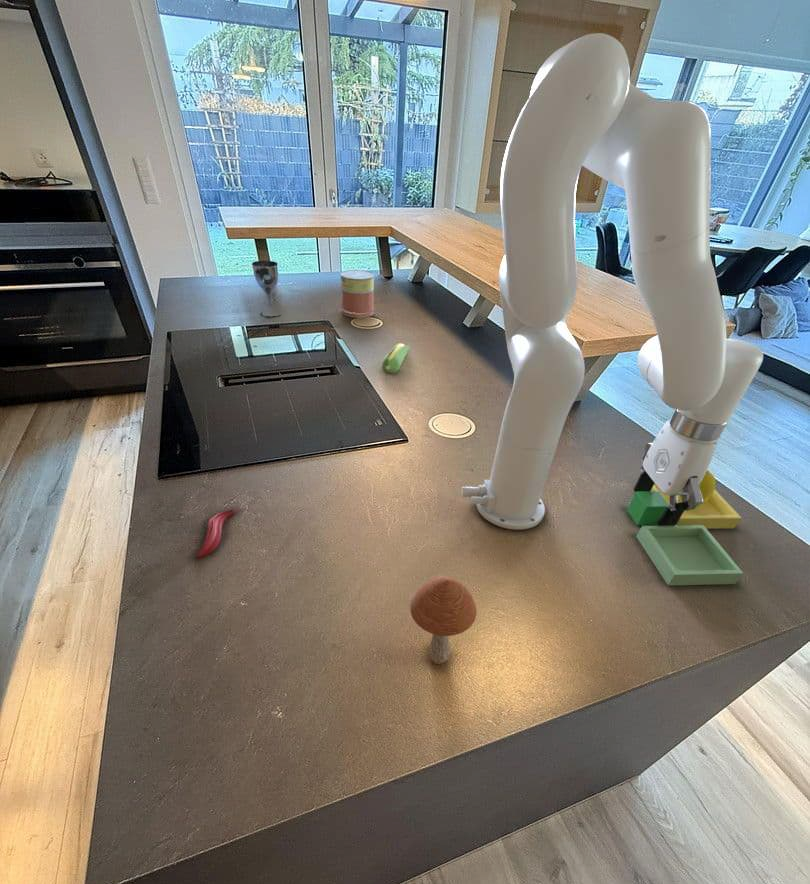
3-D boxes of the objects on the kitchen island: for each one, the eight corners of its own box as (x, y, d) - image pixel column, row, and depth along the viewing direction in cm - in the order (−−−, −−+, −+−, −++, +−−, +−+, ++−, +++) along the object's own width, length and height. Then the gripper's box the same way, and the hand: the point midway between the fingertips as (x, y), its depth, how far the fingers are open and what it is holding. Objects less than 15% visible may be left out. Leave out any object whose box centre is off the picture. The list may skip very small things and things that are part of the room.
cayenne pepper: (224, 508, 82) (222, 499, 80) (247, 515, 81) (245, 506, 79) (179, 552, 73) (175, 543, 72) (203, 560, 72) (200, 551, 71)
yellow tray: (670, 529, 84) (676, 518, 83) (639, 487, 94) (644, 477, 92) (733, 528, 86) (741, 517, 84) (697, 487, 95) (703, 477, 93)
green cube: (636, 525, 85) (647, 506, 82) (626, 510, 88) (635, 491, 85) (660, 525, 85) (670, 506, 82) (648, 509, 88) (658, 491, 85)
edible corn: (378, 375, 126) (378, 359, 123) (396, 349, 140) (397, 334, 137) (396, 378, 125) (397, 362, 122) (412, 352, 139) (413, 336, 136)
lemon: (705, 516, 87) (727, 481, 81) (674, 511, 87) (695, 476, 82) (697, 498, 91) (718, 464, 85) (668, 494, 91) (687, 459, 86)
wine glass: (255, 316, 155) (247, 265, 145) (264, 308, 161) (257, 259, 150) (278, 318, 154) (272, 267, 144) (286, 311, 160) (281, 262, 150)
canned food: (345, 306, 168) (344, 268, 160) (375, 308, 167) (376, 271, 159) (338, 316, 160) (337, 277, 151) (371, 318, 159) (371, 280, 151)
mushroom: (403, 631, 65) (410, 555, 54) (459, 629, 65) (476, 554, 55) (408, 683, 59) (417, 609, 49) (469, 679, 60) (490, 606, 49)
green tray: (667, 585, 74) (675, 574, 72) (636, 536, 82) (641, 525, 81) (734, 584, 75) (743, 573, 73) (696, 535, 83) (703, 525, 82)
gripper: (649, 398, 79) (614, 480, 91) (704, 453, 66) (655, 540, 78) (690, 398, 80) (651, 479, 91) (753, 453, 67) (697, 539, 79)
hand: (653, 507), depth 85 cm, fingers open, 9 cm apart
